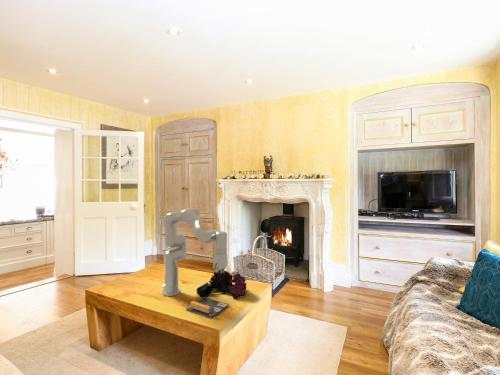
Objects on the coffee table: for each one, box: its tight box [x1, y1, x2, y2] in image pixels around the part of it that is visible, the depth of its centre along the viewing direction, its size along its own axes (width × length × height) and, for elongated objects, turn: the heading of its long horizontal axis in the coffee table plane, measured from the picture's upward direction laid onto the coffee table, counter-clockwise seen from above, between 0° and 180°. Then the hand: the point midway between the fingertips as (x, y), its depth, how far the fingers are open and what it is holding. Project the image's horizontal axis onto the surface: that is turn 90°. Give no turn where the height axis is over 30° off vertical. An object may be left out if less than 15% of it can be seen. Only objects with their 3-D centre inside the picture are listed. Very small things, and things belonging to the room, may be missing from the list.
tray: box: [186, 297, 229, 319], centre depth 167 cm, size 20×18×2 cm
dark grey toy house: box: [196, 282, 214, 299], centre depth 187 cm, size 10×7×7 cm
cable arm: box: [189, 300, 214, 314], centre depth 161 cm, size 18×3×3 cm, turn 60°
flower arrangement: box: [208, 270, 247, 300], centre depth 193 cm, size 31×20×15 cm, turn 62°
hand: (220, 279), depth 167 cm, fingers closed
